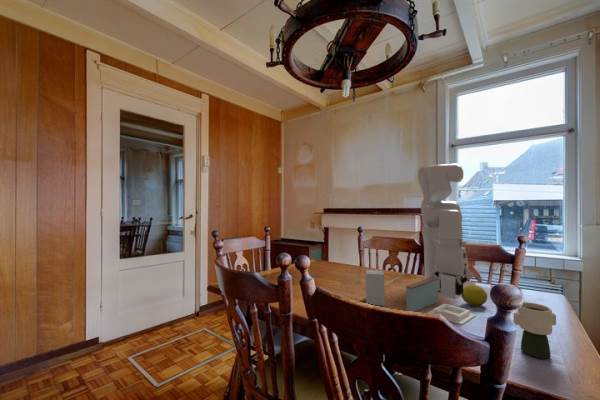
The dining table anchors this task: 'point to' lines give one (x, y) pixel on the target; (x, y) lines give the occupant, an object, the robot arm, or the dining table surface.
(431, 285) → the door board
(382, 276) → the supplement box
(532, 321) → the character mug
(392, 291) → the dining table surface
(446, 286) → the block
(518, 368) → the dining table surface
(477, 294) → the lemon
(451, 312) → the cradle
